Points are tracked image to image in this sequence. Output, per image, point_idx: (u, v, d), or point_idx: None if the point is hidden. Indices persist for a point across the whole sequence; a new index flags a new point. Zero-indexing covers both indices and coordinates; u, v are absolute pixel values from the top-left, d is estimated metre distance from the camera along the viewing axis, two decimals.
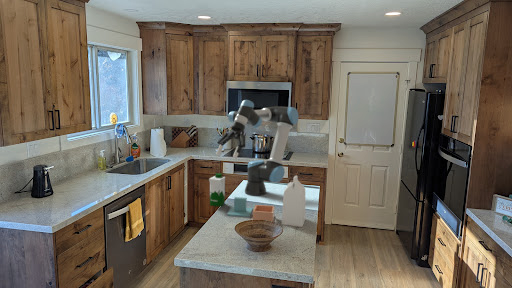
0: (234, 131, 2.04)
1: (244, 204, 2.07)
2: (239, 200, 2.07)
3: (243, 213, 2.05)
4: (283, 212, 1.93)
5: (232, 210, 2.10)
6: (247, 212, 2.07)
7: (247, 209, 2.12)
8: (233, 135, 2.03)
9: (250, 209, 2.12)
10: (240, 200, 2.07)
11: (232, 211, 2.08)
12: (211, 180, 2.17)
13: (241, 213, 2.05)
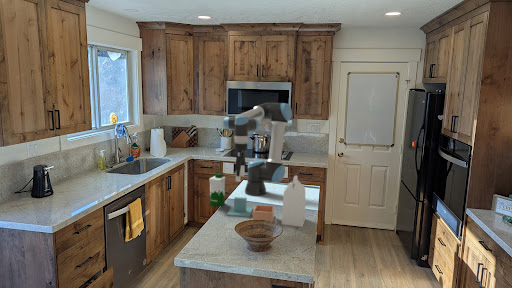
0: None
1: (244, 204, 2.07)
2: (239, 200, 2.07)
3: (243, 213, 2.05)
4: (283, 212, 1.93)
5: (232, 210, 2.10)
6: (247, 212, 2.07)
7: (247, 209, 2.12)
8: None
9: (250, 209, 2.12)
10: (240, 200, 2.07)
11: (232, 211, 2.08)
12: (211, 180, 2.17)
13: (241, 213, 2.05)
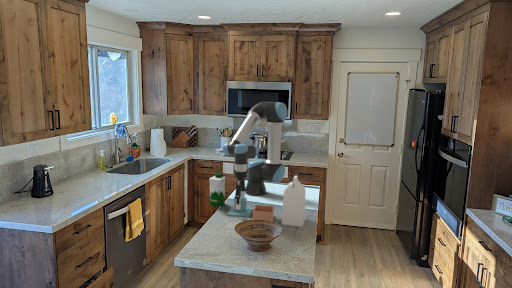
0: None
1: (244, 204, 2.07)
2: None
3: (243, 213, 2.05)
4: (283, 212, 1.93)
5: (232, 210, 2.10)
6: (247, 212, 2.07)
7: (247, 209, 2.12)
8: None
9: (250, 209, 2.12)
10: None
11: (232, 211, 2.08)
12: (211, 180, 2.17)
13: (241, 213, 2.05)
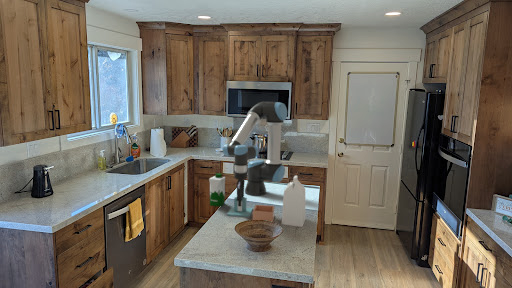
0: None
1: (244, 204, 2.07)
2: None
3: (243, 213, 2.05)
4: (283, 212, 1.93)
5: (232, 210, 2.10)
6: (247, 212, 2.07)
7: (247, 209, 2.12)
8: None
9: (250, 209, 2.12)
10: None
11: (232, 211, 2.08)
12: (211, 180, 2.17)
13: (241, 213, 2.05)
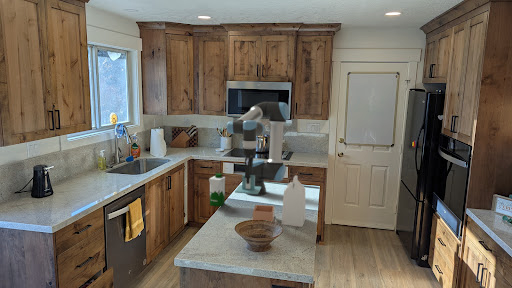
0: None
1: (252, 181, 2.00)
2: None
3: (251, 191, 1.99)
4: (283, 212, 1.93)
5: (240, 188, 2.04)
6: (255, 190, 2.01)
7: (255, 187, 2.06)
8: None
9: (258, 187, 2.06)
10: None
11: (240, 189, 2.02)
12: (211, 180, 2.17)
13: (249, 191, 1.99)
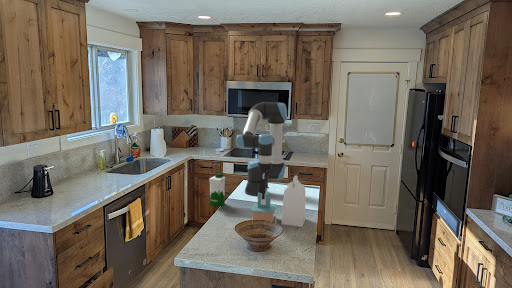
0: None
1: (268, 200, 1.96)
2: None
3: (267, 209, 1.94)
4: (283, 212, 1.93)
5: (255, 206, 1.99)
6: (271, 208, 1.96)
7: (271, 205, 2.01)
8: None
9: (274, 205, 2.01)
10: None
11: (255, 207, 1.97)
12: (211, 180, 2.17)
13: (265, 209, 1.94)
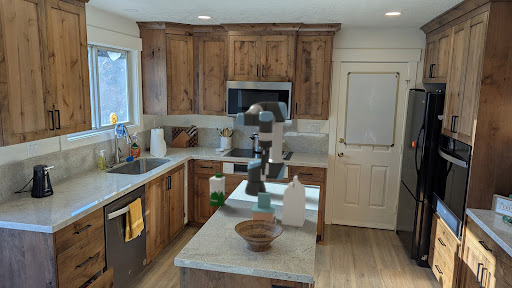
0: None
1: (268, 200, 1.96)
2: (263, 196, 1.96)
3: (267, 209, 1.94)
4: (283, 212, 1.93)
5: (255, 206, 1.99)
6: (271, 208, 1.96)
7: (271, 205, 2.01)
8: None
9: (274, 205, 2.01)
10: (264, 196, 1.96)
11: (255, 207, 1.97)
12: (211, 180, 2.17)
13: (265, 209, 1.94)
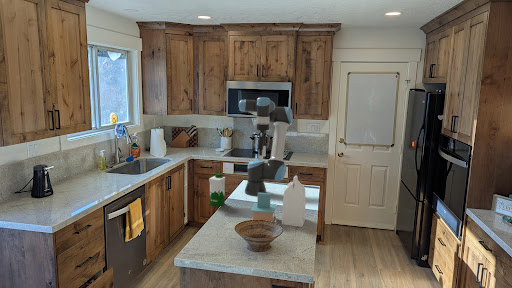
0: None
1: (268, 200, 1.96)
2: (263, 196, 1.96)
3: (267, 209, 1.94)
4: (283, 212, 1.93)
5: (255, 206, 1.99)
6: (271, 208, 1.96)
7: (270, 205, 2.01)
8: None
9: (274, 205, 2.01)
10: (264, 196, 1.96)
11: (255, 207, 1.97)
12: (211, 180, 2.17)
13: (265, 209, 1.94)
